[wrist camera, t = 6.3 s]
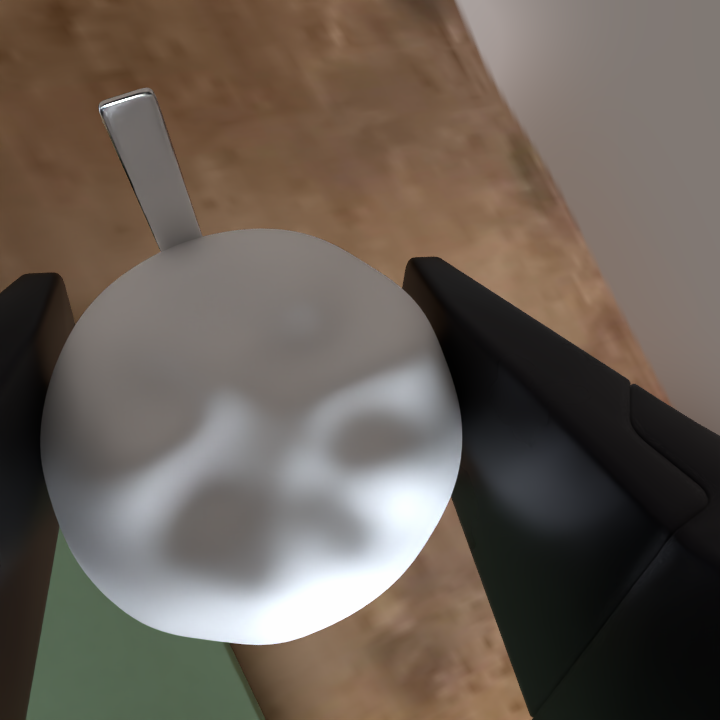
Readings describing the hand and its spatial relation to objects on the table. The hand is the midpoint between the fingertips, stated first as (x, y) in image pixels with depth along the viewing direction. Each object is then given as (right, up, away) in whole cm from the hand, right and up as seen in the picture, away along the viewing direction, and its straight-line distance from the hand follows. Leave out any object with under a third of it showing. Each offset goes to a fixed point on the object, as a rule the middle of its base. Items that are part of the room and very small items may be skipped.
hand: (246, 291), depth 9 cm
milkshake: (-1, -2, +7) cm, 7 cm away
